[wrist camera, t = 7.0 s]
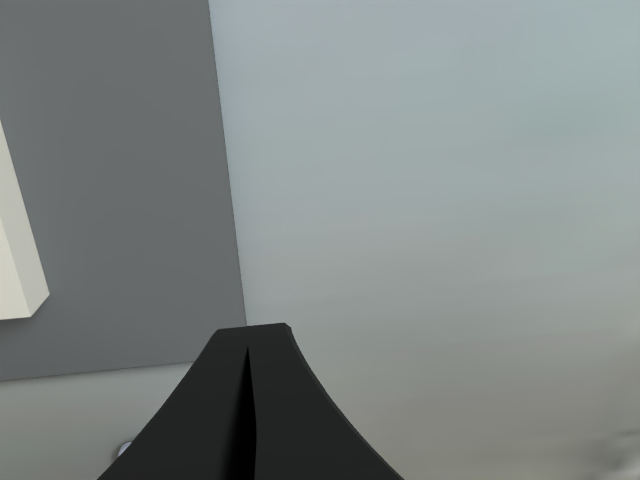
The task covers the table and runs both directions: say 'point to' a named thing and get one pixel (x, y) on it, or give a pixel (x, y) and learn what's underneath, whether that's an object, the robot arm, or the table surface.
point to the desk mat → (118, 183)
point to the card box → (17, 248)
